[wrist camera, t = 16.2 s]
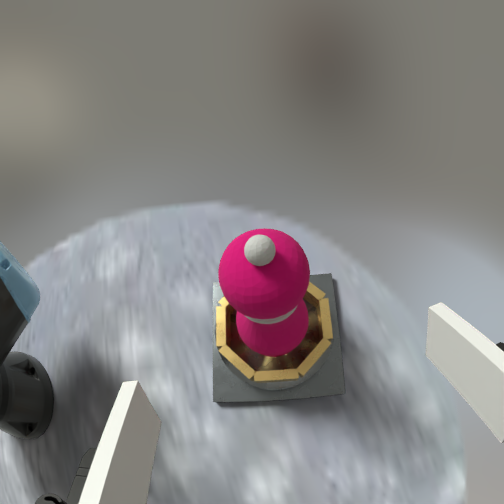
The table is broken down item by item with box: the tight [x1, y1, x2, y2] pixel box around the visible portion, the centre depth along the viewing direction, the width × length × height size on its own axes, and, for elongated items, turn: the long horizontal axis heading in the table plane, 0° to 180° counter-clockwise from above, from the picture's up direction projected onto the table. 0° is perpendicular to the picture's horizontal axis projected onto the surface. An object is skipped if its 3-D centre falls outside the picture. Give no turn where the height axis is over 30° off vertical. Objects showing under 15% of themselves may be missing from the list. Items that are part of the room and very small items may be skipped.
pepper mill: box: [219, 229, 310, 357], centre depth 26 cm, size 7×7×20 cm
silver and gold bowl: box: [213, 273, 345, 402], centre depth 36 cm, size 16×16×8 cm
